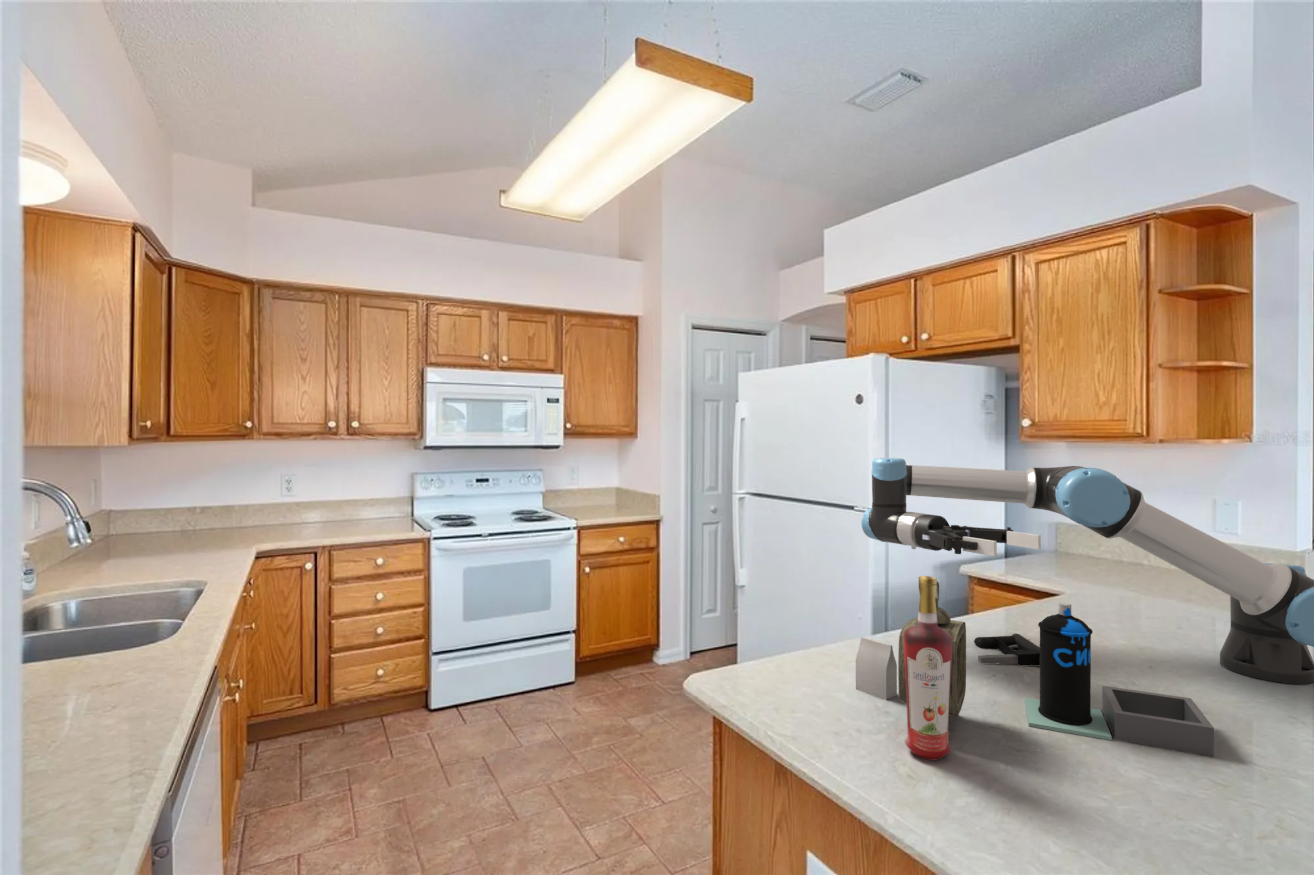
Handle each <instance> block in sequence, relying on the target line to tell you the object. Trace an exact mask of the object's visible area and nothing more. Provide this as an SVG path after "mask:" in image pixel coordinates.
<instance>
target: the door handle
mask: <svg viewBox="0 0 1314 875" xmlns="http://www.w3.org/2000/svg"><path fill="white" fill-rule="evenodd" d="M973 642H974V645H975V646H976V647H977V648H980V649H997V650H998V651H999V652H1001V653H1002V654H984V655H977V662H978V663H980V664H981V663H999V664H998V665H1018V664H1019V665H1018V666H1020V665H1040V646H1038V645H1036V644H1035V643H1033V642H1032V641H1031V640H1030V639H1027V638H1026V637H1024V636H1023V635H1021V634H1019V633H1013V634H1011V635H999V636H981V637H980V636H979V637H975V638H974V640H973Z"/></svg>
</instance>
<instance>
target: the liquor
mask: <svg viewBox="0 0 1314 875" xmlns="http://www.w3.org/2000/svg"><path fill="white" fill-rule="evenodd" d="M937 581H938V579H937V578H936V577H934V576H927V575H926V576H925V575H923V576H922V575H921V576H919V577H918V592H919V604H918V605H919V606H918V614H917V615H918V616H917V617H918V625H915V626H911V627H909V628H908V629H907V630H905V631H904V632H903V640H904V665H905V680H906V697H907V704H906V718H907V719H906V720H907V721H906V722H907V723H906V724H907V726H906V727H907V736H906V737H905V739H904V744H905V746H906V747H907V748H908V749H909V750H910V751H911V752H912V753H913V754H914V756H916V757H918V758H921V759H924V760H928V761H937V760H940V759H942V758H944V757H945V756H947V755H948V754H949V753H951V751H952V747H951V745H950V743H949V738H948V730H949V722H950V721H949V720H950V717H949V716H950V715H949V698H950V683H951V668H952V644H953V637H952V636H951V635H950V634H949V633H948V632H947V631H945V630H944V629H942V628H939V627H938V623H937V613H936V602H935V597H936V593H937Z"/></svg>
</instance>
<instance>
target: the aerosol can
mask: <svg viewBox="0 0 1314 875" xmlns="http://www.w3.org/2000/svg"><path fill="white" fill-rule="evenodd" d="M1038 627H1039V647H1040V666H1039V700H1040V706H1039V708H1038V711H1039V713H1040V714H1041V715H1043V716H1044V717H1046V718H1048V719H1050V720H1053V721H1055V722H1059V723H1063V724H1068V725H1087V724H1090V723H1091V722H1092V717H1091V708H1092V707H1091V706H1092V704H1091V703H1092V701H1091V699H1092V698H1091V696H1092V693H1091V692H1092V691H1091V690H1092V689H1091V685H1092V684H1091V683H1092V682H1091V680H1092V677H1091V673H1092V671H1091V670H1092V669H1091V665H1092V664H1091V663H1092V662H1091V661H1092V659H1091V656H1092V655H1091V653H1092V652H1091V650H1092V649H1091V647H1092V645H1091V640H1092V636H1091V635H1092V634H1093V631H1094V630H1092V628H1091V627H1089V626H1088V624H1087V623H1085V622H1084V620H1082V619H1080V618H1078V617H1075V616H1074V615H1072V604H1071V603H1070V602H1062V601H1060V602H1058V613H1057V614H1051V615H1048V616H1047V617H1044V619H1042V620H1041V621H1039V622H1038Z"/></svg>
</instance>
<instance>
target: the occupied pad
mask: <svg viewBox="0 0 1314 875" xmlns="http://www.w3.org/2000/svg"><path fill="white" fill-rule="evenodd" d="M1024 704H1025V712H1026V718H1027V725H1028V727H1032V728H1037V729H1038V728H1039V729H1043V730H1049V731H1055V732H1060V733H1067V734H1073V735H1079V736H1084V737H1090V738H1095V739H1096V738H1097V739H1101V740H1107V741H1112V740H1113V738H1112V737H1113V735H1111V734H1112V733H1111V731H1110V730H1109V726H1108V725H1107V724H1108V723H1107V722H1106V720H1105V716H1104V715H1103V713H1102V710H1101V709H1100V708H1094V707H1091V717H1092V722H1091V723H1090V724H1087V725H1068V724H1063V723H1059V722H1055V721H1053V720H1050V719H1048V718H1046V717H1044V716H1043V715H1041V714H1040V713H1039V711H1038V708H1039V706H1040V699H1038V698H1032V697H1031V698H1029V697H1024Z"/></svg>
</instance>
